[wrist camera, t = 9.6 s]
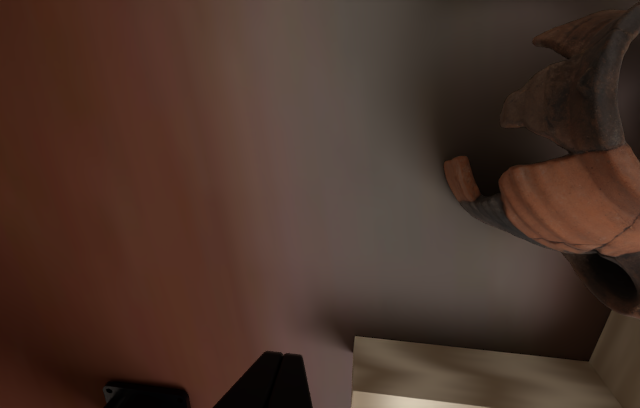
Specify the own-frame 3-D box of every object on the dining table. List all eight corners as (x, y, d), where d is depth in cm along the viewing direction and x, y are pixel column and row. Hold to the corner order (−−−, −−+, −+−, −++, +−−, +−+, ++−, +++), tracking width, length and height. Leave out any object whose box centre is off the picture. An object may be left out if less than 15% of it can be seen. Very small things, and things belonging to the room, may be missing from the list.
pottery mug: (397, 121, 18) (515, 34, 10) (540, 46, 19) (744, -81, 11) (507, 330, 18) (709, 417, 10) (638, 240, 20) (902, 251, 12)
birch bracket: (353, 353, 23) (351, 410, 19) (393, -82, 14) (404, -130, 10) (606, 382, 22) (655, 449, 18) (831, -82, 13) (1021, -137, 9)
